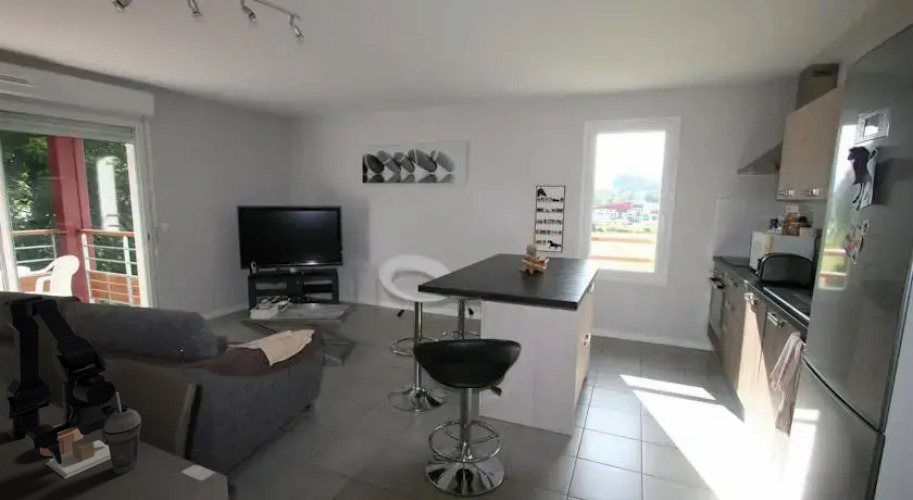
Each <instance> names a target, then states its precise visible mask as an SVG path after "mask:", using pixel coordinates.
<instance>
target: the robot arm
mask: <svg viewBox="0 0 913 500" xmlns="http://www.w3.org/2000/svg"><path fill="white" fill-rule="evenodd" d="M0 307H1V308H0V312H1V315H2V318H3V320H4V322H5V323H6V324H7V325H8V326H9V327H11V329H12V330H13V354H14V355H13V356H14V357H13V360H14V363H13V364H14V379H13V380H12V382H11V383H10V384H9V385H8V387H6V390H5V391H6V392H5V398H3V400H2V402H1V404H0V416H1V417H2V418H4V419H7V420H10V423H11V429H10V430H8V431H7V432H6V434H7V435H8V436H10V437H11V438H13V440H17V441H18V440H19V439H20V440H21V439H23V438H25V443H26V444H27V445H28V446H30V447H32V448H33V449H35V450H36V449H40V448H41V449H46V448H47V449H48V450H49V452H50V453H51V455H52V456H51V457H53V458H54V459H55V460H56V462H57V463H58V464H61V463H62V458H61V455H62V454H60V449H59V443H60V442H59V441H58V440H57V438H58V434H60V433H63V432H66V431H68V430H71V429H74V428H76V427H77V429H78V430H79V431H80V433H81V434H82V435H83V436H86V435H87V436H88V435H90V434H91V433H94V432H95V431H96V432H97V431H99V430H101V434H102V435H101V436H102V442H103V443H104V444H105V445H108V441H107V439H106V436H105V433H104V427H105V423H106V421H107V419H108V418H109V417H110V416H111V415H112V414H113V413H114V412H116V411H118V404H117V399H116V400H112V398H113V397H114V396H115V394H116V386H115V385H114V383H113V382H111V381H109V380H106V379H105V377H106V376H105V375H102V374H100V373H103V372H106V371H107V369H106V366H105V365H106V362H105V360H104V359H103V357H102V355H101V353H100V352H99V350H98V348H97V347H95V346H94V345H93V344H92V343H91V342H90V341H89V340H88V338H87V339H86V338H84V337H80V336H78V335H77V334H76V333H75V331H74V330H73V329H72V328H71V326H70V324H69V323H68V321H67V320H66V318H65V317H64V316H63V314H62V313H61V311H60V310H59V308H58V304H57V300H56V299H54V298H53V297H52V298H43V296H41V295H33V296H28V297H21V298H13V299H8V300H6V302H4V303H3V304H2V305H1V306H0ZM40 331H41V332H42V333H43V335H44V336H45V338H46V339H47V341H48V342H49V344H50V345H51V347H52V349H53V354H52V357H51V360H52V365H53V368H54V370H55V371H56V373H57V374H58V377H59V378H61V387H62V388H61V389H62V400H61V405H63V411H64V415H62V419H63V421H64V423H61V424H62V425H60V424H58V425H59V426H57V425H55V426H56V427H54V426H52V425H50V424H48V423H47V424H43V422H42V417H41V416H42V415H41V409H43V408H47V407H50V404H51V397H52V396H51V395H52V390H51V389H50V385H49V384H48V383H46V382H45V381H44V380H43V379H42V378H41V377H40V371H41V370H40ZM110 400H112V401H110ZM109 401H110V402H109ZM120 405H121V409H126V408H128V409H131V407H130V405H129V404H128V403H125V402H124V401H122V400H120Z"/></svg>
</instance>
